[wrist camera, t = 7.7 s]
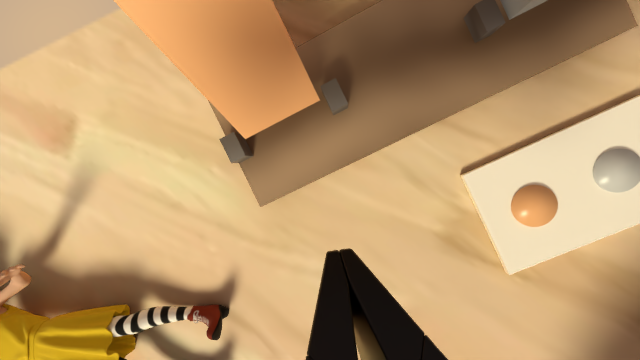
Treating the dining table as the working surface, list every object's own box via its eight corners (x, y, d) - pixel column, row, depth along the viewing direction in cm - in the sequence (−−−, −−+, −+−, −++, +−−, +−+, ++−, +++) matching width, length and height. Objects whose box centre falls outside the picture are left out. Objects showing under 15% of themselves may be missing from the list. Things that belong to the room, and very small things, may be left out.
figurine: (200, 497, 16) (-243, 484, 15) (236, 389, 24) (-61, 377, 23) (208, 284, 15) (-268, 259, 14) (243, 242, 23) (-68, 224, 22)
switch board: (619, 34, 16) (667, 11, 14) (265, 204, 19) (253, 210, 16) (563, -92, 16) (601, -137, 13) (214, 100, 19) (194, 92, 16)
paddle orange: (320, 100, 16) (174, -207, 7) (245, 139, 16) (22, -96, 7) (312, 85, 16) (174, -204, 8) (242, 122, 17) (39, -105, 8)
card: (685, 201, 16) (697, 202, 16) (505, 272, 18) (510, 275, 17) (637, 95, 16) (647, 93, 16) (460, 175, 17) (463, 175, 17)
